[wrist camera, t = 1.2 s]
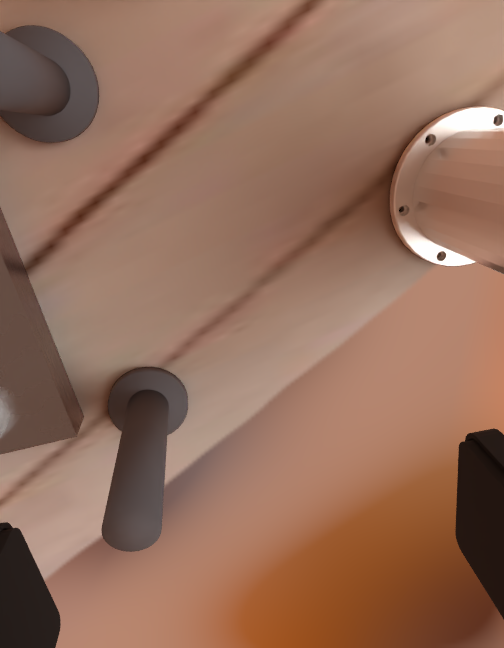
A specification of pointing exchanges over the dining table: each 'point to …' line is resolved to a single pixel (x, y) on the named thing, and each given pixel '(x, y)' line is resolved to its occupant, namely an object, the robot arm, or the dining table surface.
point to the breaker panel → (29, 364)
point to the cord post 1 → (45, 84)
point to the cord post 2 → (141, 454)
